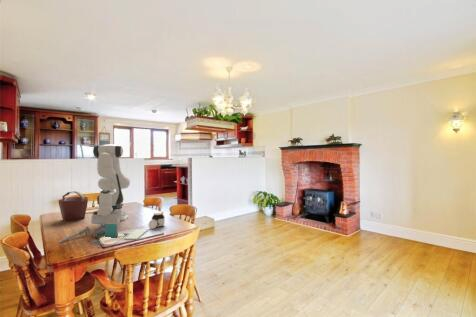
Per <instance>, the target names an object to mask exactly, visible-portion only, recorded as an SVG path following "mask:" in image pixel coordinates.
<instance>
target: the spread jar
mask: <svg viewBox="0 0 476 317" xmlns="http://www.w3.org/2000/svg"><path fill="white" fill-rule="evenodd" d="M165 218H166V217H165V215H164V214H163V211H154V212H153V216H152V217H151V220H150V221H149V222H148V228H149V229H152V230H154V229H156V228H157V229H158V228H162V227H163V226H165V224H166V223H165V221H166V219H165Z"/></svg>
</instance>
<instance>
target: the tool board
mask: <svg viewBox="0 0 476 317" xmlns="http://www.w3.org/2000/svg"><path fill="white" fill-rule="evenodd" d="M148 230H149V229H145V228H144V229H139V228H138V229H137V228H136V229H135V230H133V231H132V232H131V233H130V234H127V235H126V236H125V237H123V240H124V241H126V240H127V241H128V240H129V241H137V240H139V239H140V238H141V237H142V236H143V235H144V234H146V233H147V232H148Z"/></svg>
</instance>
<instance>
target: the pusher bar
mask: <svg viewBox="0 0 476 317" xmlns="http://www.w3.org/2000/svg"><path fill="white" fill-rule="evenodd" d="M103 235H105V224H103V226H101V227H98V228H95V229H94V230H93V231H92V236H93V238H99V237H101V236H103ZM98 236H99V237H98Z"/></svg>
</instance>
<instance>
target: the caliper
mask: <svg viewBox="0 0 476 317" xmlns="http://www.w3.org/2000/svg"><path fill="white" fill-rule="evenodd" d="M83 234H85V235H86V236H87V235H90V234H91V228H90V227H89V226H86V227H85V228H84V229H82V230H80V231H78V232H76V233H74V234H72V235H70V236H67V237H65V238H62V239H61V240H60V241H58V244H60V243H64V242H67V241H69V240H71V239H73V238H75V237H77V236H82V235H83Z"/></svg>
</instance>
